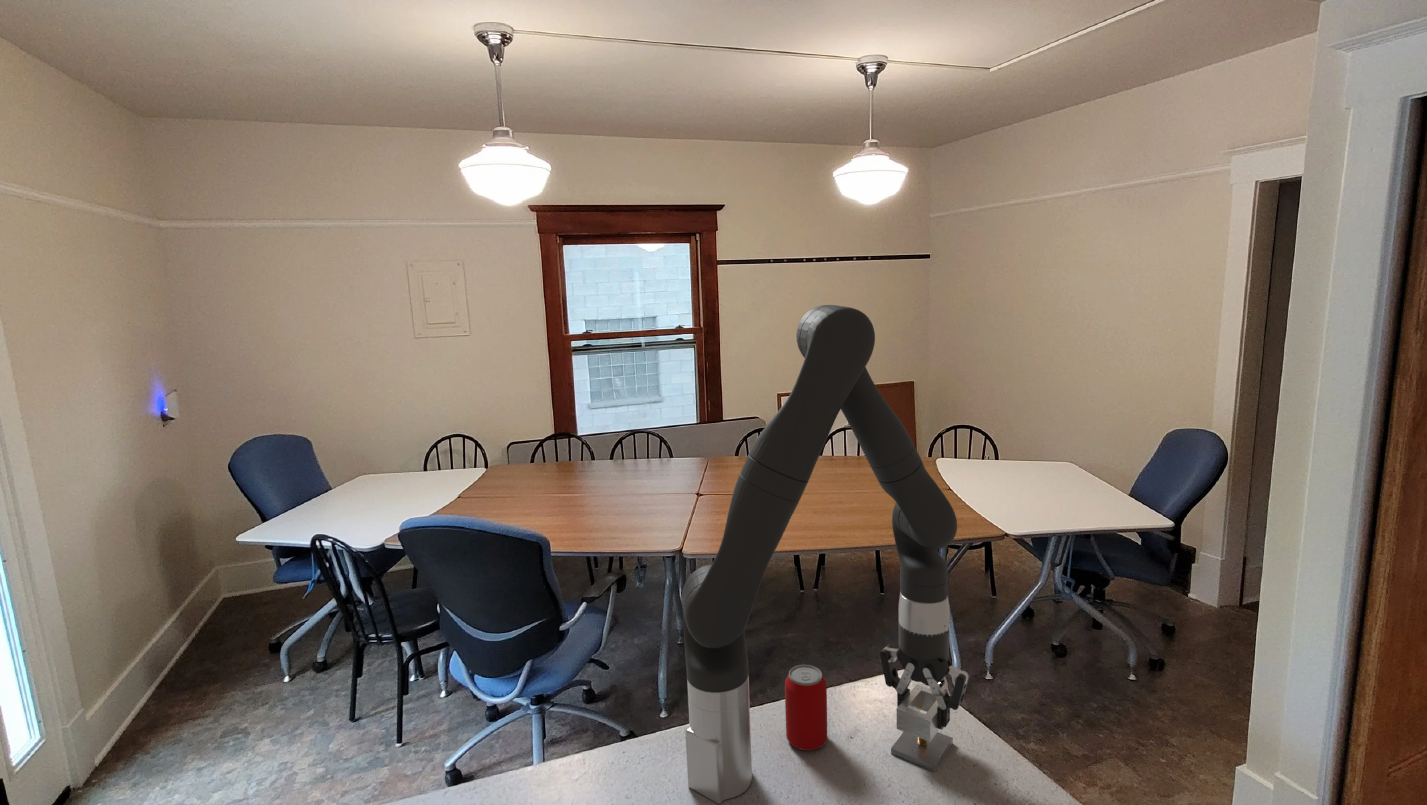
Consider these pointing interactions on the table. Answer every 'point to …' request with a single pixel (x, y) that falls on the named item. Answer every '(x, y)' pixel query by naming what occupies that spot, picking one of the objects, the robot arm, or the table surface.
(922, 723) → the silver frame
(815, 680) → the beverage can
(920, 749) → the grey peg base
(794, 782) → the table surface
